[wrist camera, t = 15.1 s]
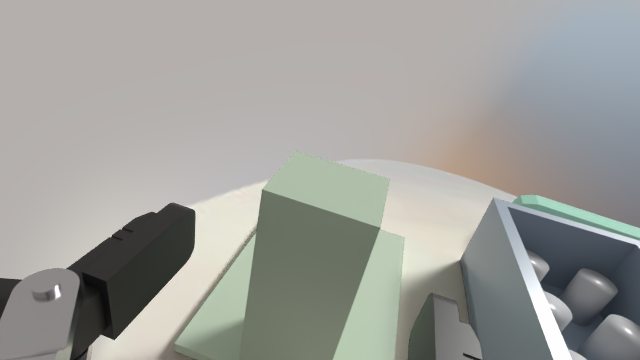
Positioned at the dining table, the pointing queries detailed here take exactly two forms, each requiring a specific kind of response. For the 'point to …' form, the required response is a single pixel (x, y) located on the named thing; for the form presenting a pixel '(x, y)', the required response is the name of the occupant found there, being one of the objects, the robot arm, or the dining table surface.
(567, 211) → the mint green bar
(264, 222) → the lid
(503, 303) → the tub
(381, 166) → the dining table surface
